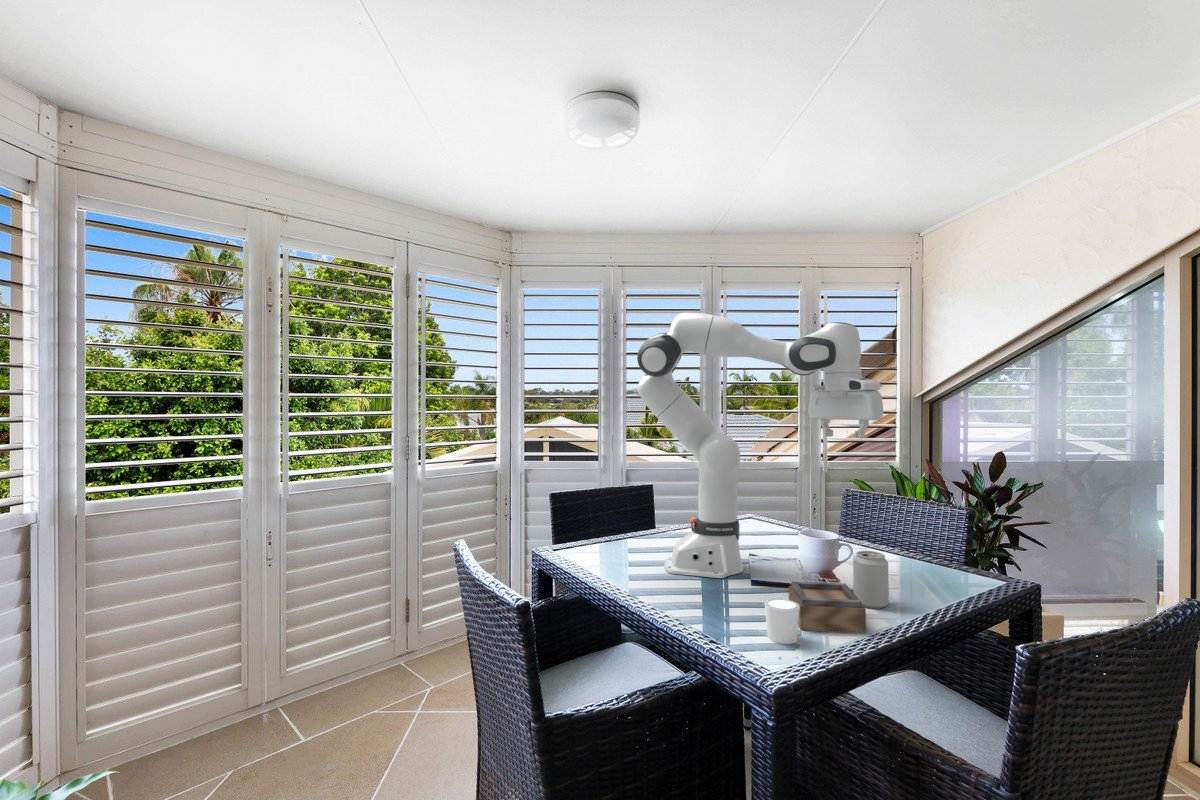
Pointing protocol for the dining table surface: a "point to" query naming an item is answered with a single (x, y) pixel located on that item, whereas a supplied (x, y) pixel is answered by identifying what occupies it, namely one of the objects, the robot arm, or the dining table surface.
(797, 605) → the white cylinder
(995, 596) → the dining table surface
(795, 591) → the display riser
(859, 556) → the can
